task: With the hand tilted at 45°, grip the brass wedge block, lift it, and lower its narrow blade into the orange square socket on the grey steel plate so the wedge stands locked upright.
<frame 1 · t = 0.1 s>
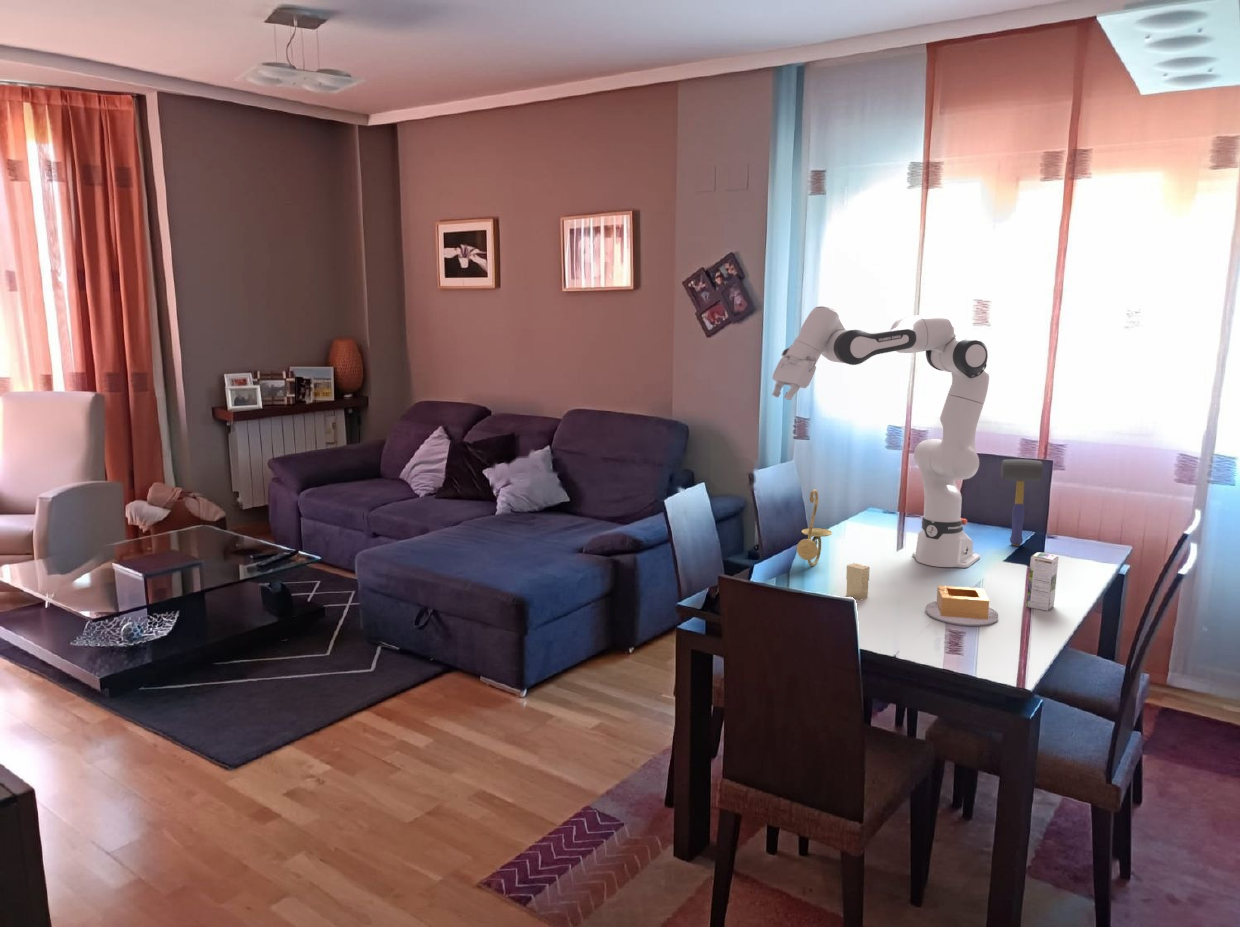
hand: (780, 397, 262), 54 cm above the table, tool tilted 30°, fingers open, 8 cm apart
syrup box: (1040, 607, 240), on the table
rubber mallet: (1015, 545, 303), on the table
wedge: (856, 596, 249), on the table
wall sconce: (813, 566, 279), on the table
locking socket: (961, 614, 234), on the table
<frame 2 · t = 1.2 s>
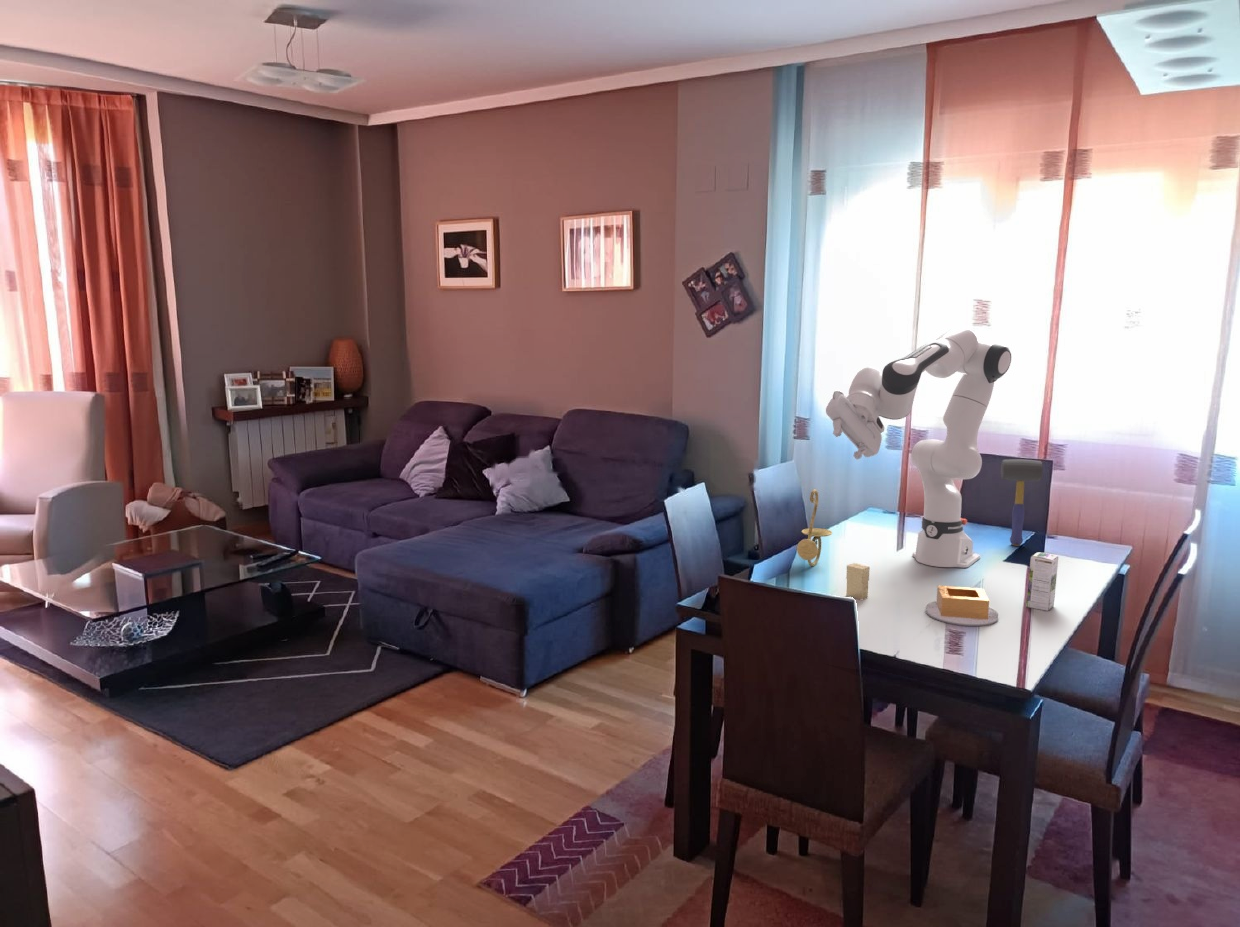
hand: (846, 446, 241), 43 cm above the table, tool tilted 55°, fingers open, 8 cm apart
nothing on the table moved.
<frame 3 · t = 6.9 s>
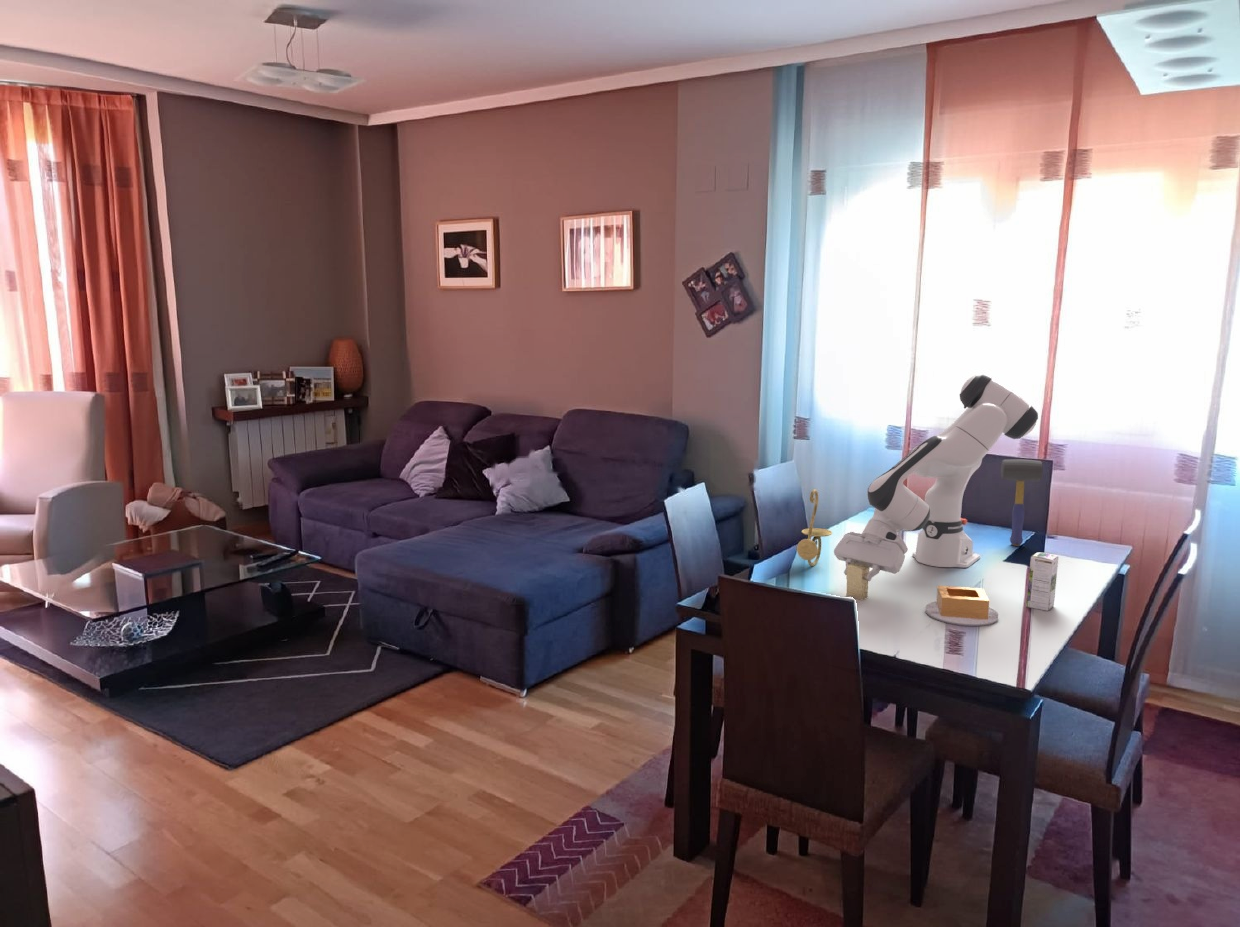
hand: (856, 577, 247), 6 cm above the table, tool tilted 45°, fingers closed on wedge, 5 cm apart
wedge: (856, 596, 249), on the table, touching gripper
everything else where it was.
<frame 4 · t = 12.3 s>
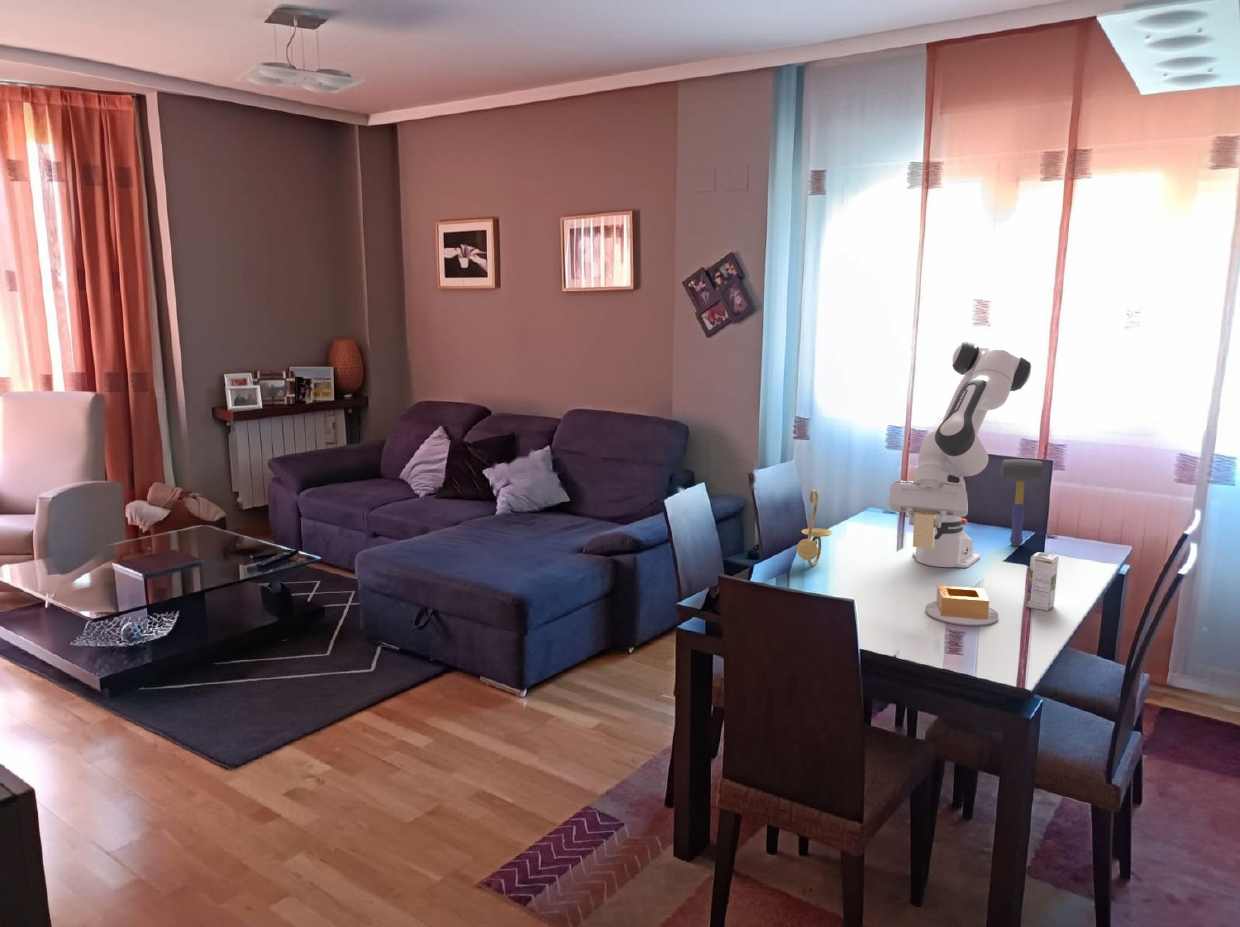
hand: (924, 525, 233), 24 cm above the table, tool tilted 45°, fingers closed on wedge, 5 cm apart
wedge: (923, 546, 234), point 18 cm above the table, touching gripper
everything else where it was.
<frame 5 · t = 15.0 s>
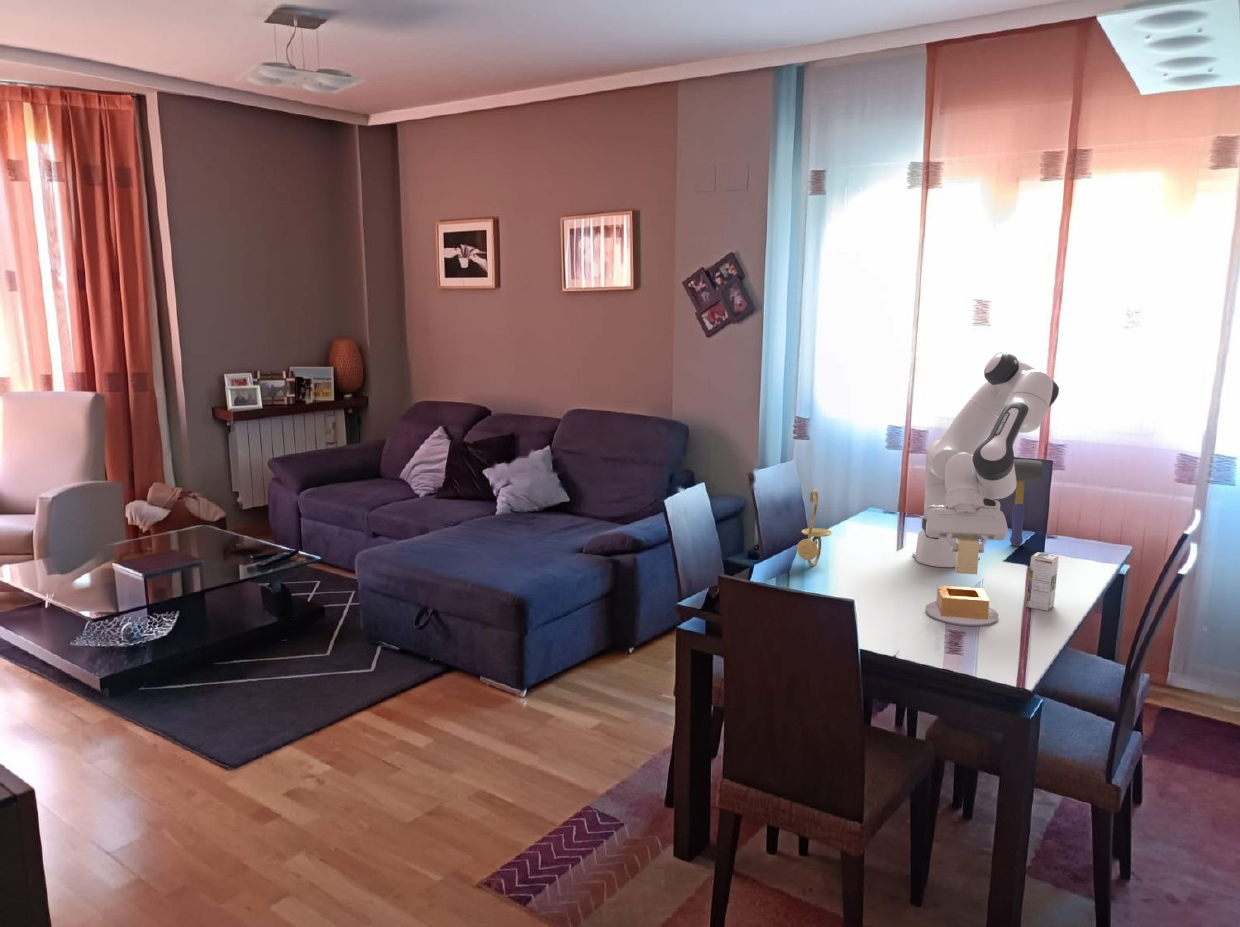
hand: (967, 551, 230), 18 cm above the table, tool tilted 45°, fingers closed on wedge, 5 cm apart
wedge: (966, 572, 232), point 12 cm above the table, touching gripper
everything else where it was.
when the fingers open (8 cm above the table, at t = 17.5 s): wedge drops 2 cm, resting on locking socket.
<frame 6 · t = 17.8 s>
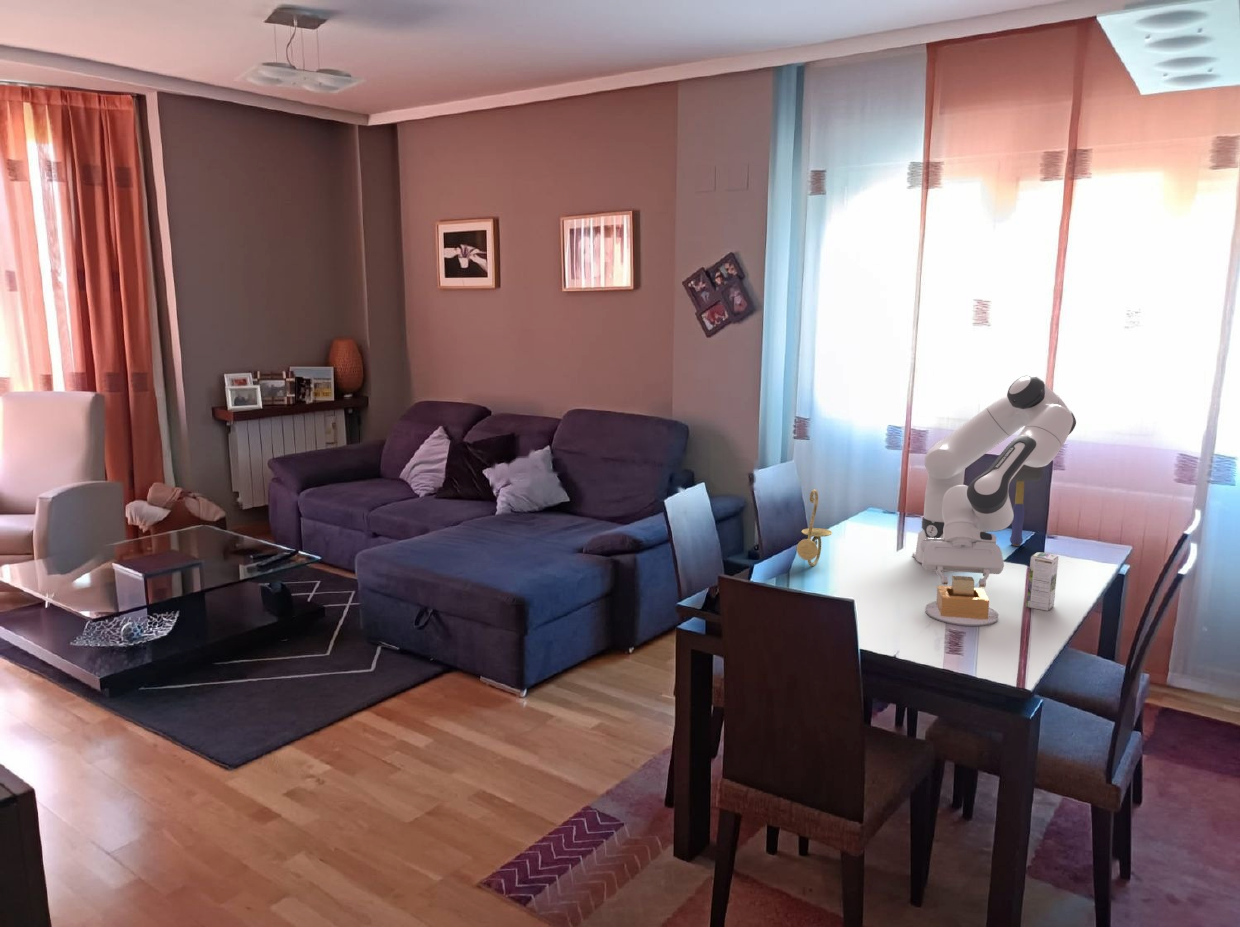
hand: (963, 585, 232), 8 cm above the table, tool tilted 45°, fingers open, 8 cm apart
wedge: (961, 610, 234), point 1 cm above the table, touching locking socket
everything else where it was.
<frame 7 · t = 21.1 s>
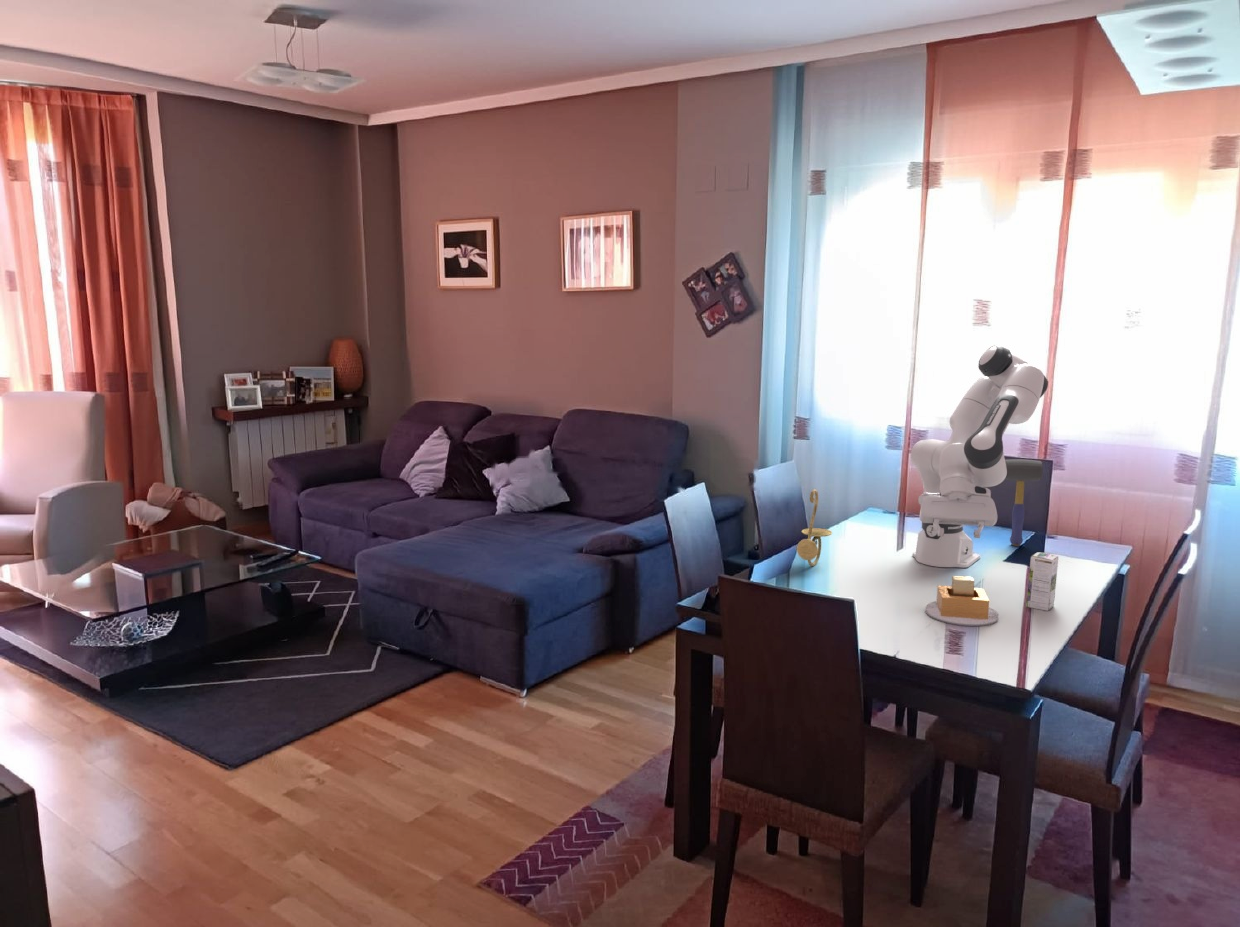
hand: (959, 536, 243), 18 cm above the table, tool tilted 45°, fingers open, 8 cm apart
nothing on the table moved.
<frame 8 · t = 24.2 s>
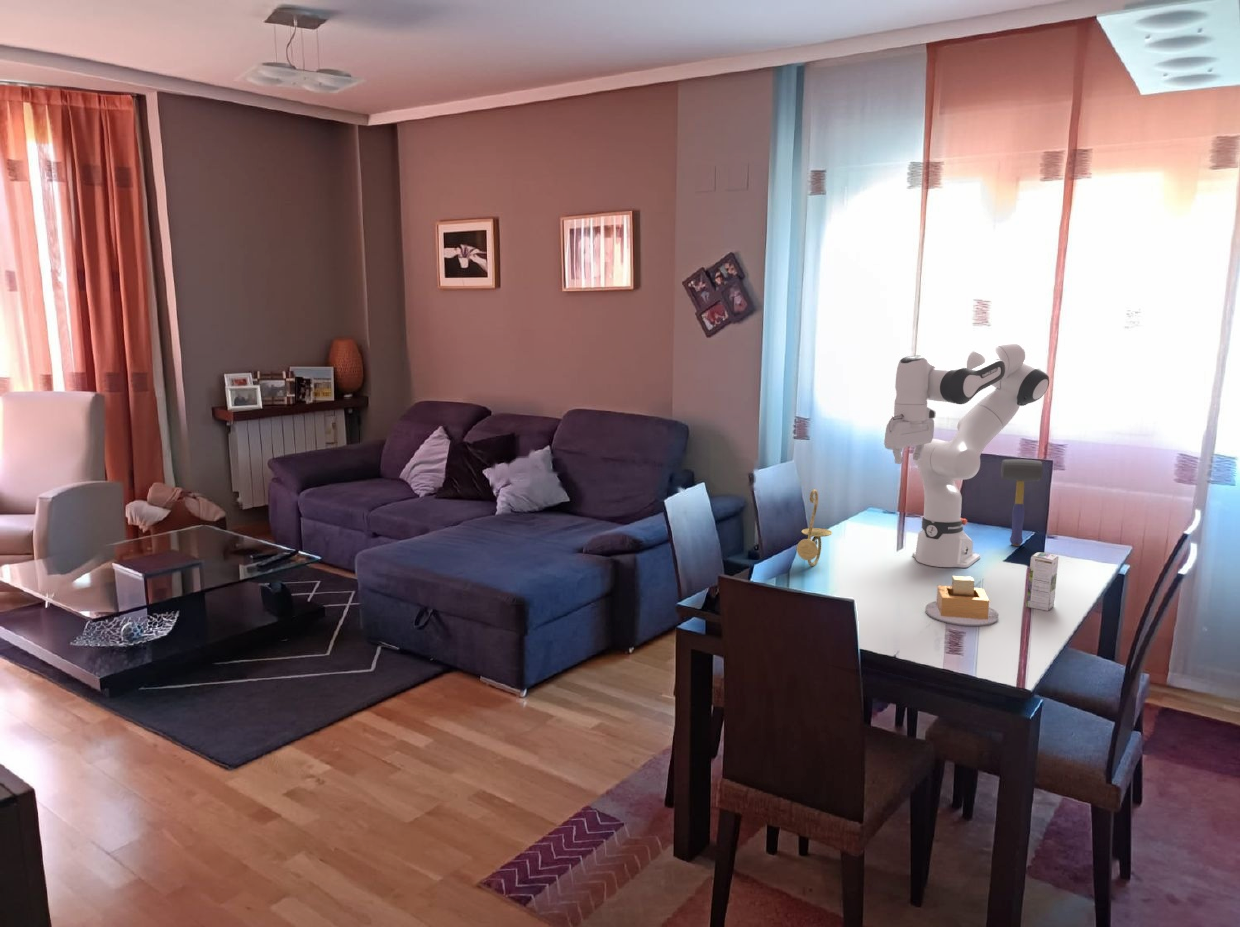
hand: (907, 461, 252), 37 cm above the table, tool pointing down, fingers open, 8 cm apart
nothing on the table moved.
at the end: wedge 0.1 cm off-centre on the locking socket, point 1.0 cm above the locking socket's base; wedge tilted 0°; the gripper is holding nothing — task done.
